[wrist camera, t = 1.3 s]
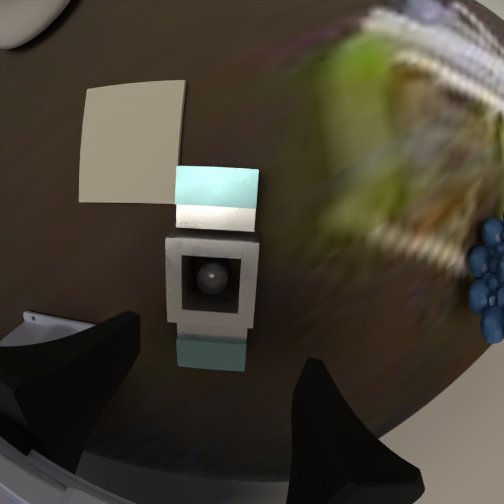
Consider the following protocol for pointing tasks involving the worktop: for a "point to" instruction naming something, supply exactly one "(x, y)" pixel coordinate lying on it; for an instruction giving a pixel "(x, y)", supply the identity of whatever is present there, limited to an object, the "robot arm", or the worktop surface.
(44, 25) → the flower in vase
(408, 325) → the worktop surface
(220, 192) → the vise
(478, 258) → the grapes
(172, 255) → the grey hollow block
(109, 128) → the mat
